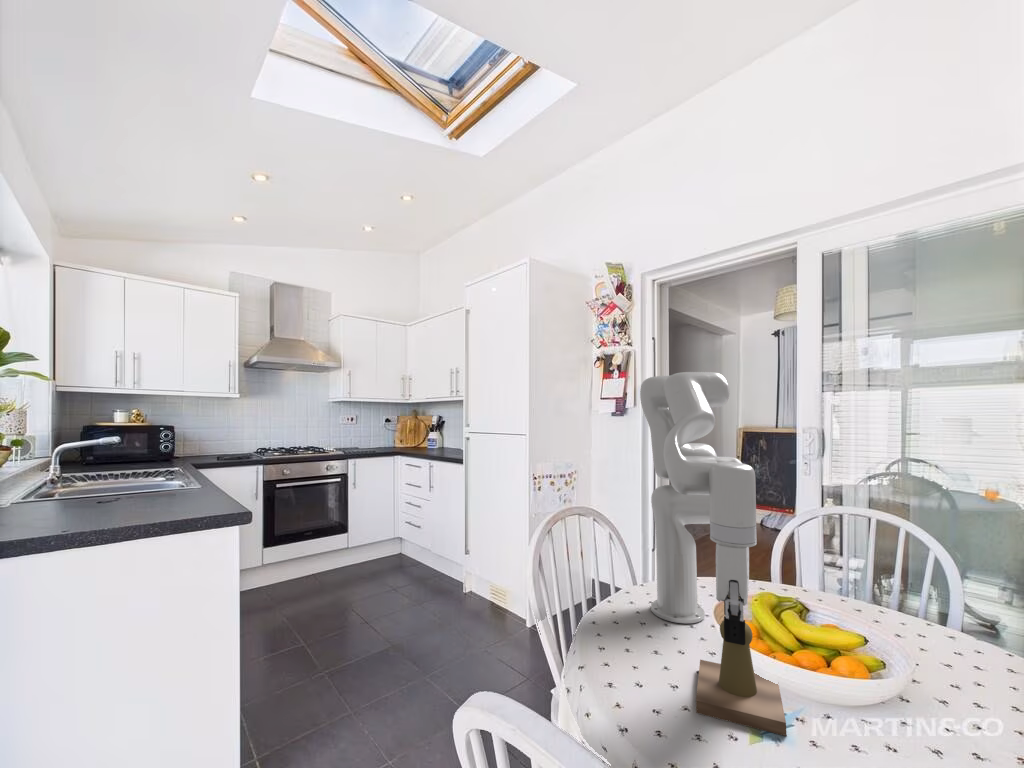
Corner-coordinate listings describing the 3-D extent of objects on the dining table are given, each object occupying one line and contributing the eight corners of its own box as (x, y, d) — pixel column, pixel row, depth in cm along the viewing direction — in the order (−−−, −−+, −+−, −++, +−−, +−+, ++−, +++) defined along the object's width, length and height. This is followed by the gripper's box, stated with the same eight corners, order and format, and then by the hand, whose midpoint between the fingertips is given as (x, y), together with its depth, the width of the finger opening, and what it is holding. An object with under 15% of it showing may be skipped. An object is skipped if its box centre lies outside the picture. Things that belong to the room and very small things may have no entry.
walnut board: (700, 670, 89) (700, 659, 89) (777, 687, 83) (776, 675, 83) (696, 713, 76) (695, 700, 76) (786, 736, 70) (786, 722, 71)
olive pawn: (717, 691, 79) (715, 625, 79) (719, 673, 84) (717, 611, 85) (757, 701, 76) (755, 633, 77) (756, 682, 81) (754, 618, 82)
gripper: (711, 518, 91) (712, 604, 91) (708, 544, 75) (709, 648, 75) (753, 522, 88) (755, 612, 87) (759, 550, 72) (761, 659, 72)
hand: (734, 629), depth 81 cm, fingers open, 9 cm apart
